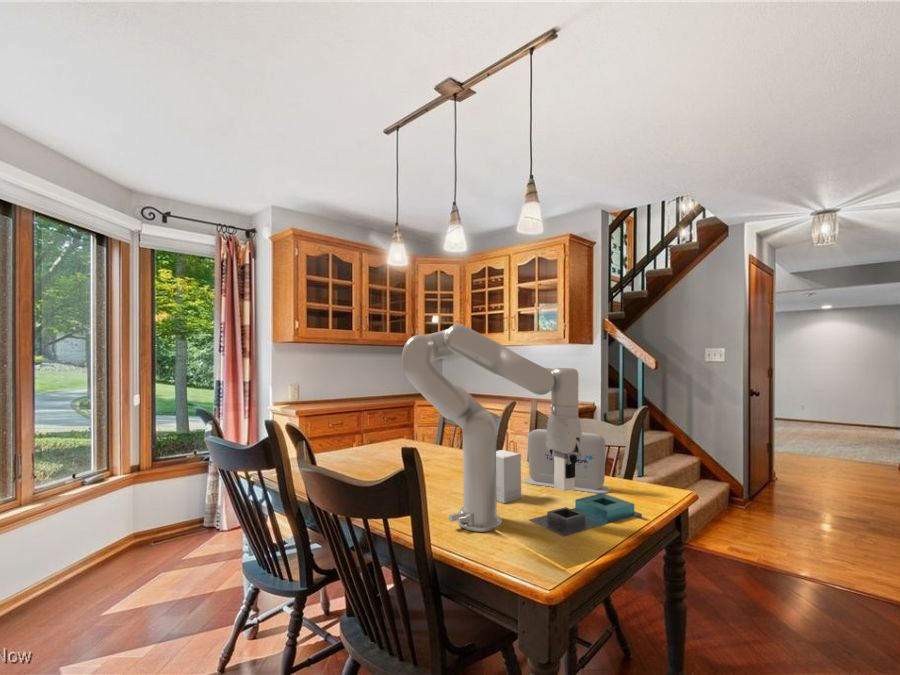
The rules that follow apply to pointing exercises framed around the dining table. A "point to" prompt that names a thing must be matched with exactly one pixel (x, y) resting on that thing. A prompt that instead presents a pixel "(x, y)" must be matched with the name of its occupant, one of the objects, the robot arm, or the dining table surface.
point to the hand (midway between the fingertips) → (564, 475)
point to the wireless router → (586, 468)
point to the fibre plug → (562, 473)
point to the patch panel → (587, 514)
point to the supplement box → (508, 476)
